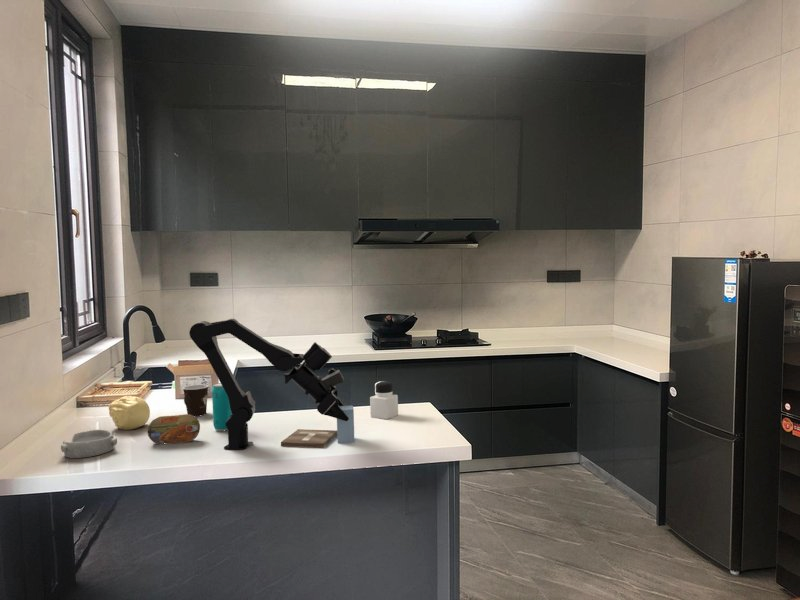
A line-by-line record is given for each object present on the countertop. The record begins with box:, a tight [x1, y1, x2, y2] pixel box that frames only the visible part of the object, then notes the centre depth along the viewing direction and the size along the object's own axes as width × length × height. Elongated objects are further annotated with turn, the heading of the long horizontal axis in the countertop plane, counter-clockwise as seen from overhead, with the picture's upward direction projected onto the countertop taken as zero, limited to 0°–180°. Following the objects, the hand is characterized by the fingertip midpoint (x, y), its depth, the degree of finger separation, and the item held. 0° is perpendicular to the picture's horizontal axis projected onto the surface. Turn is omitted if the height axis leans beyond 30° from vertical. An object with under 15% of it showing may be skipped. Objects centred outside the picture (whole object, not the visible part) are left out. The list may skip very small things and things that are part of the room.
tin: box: [147, 413, 201, 445], centre depth 188 cm, size 15×3×8 cm, turn 101°
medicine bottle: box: [369, 380, 399, 420], centre depth 214 cm, size 7×7×12 cm
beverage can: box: [211, 382, 232, 432], centre depth 201 cm, size 6×6×15 cm
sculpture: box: [108, 395, 151, 431], centre depth 207 cm, size 12×12×11 cm
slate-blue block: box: [336, 405, 355, 444], centre depth 186 cm, size 5×5×10 cm
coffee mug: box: [182, 384, 209, 417], centre depth 222 cm, size 12×9×10 cm
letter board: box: [280, 428, 337, 449], centre depth 187 cm, size 14×13×1 cm
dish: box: [60, 428, 118, 459], centre depth 181 cm, size 14×14×5 cm
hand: (347, 416), depth 186 cm, fingers open, 9 cm apart
